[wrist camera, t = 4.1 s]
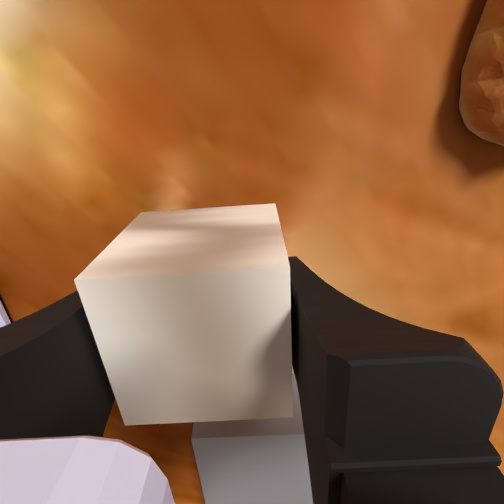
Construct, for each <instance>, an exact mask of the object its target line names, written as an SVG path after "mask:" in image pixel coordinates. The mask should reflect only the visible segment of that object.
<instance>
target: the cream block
mask: <svg viewBox="0 0 504 504" xmlns="http://www.w3.org/2000/svg"><path fill="white" fill-rule="evenodd" d="M74 281H75V284H76V287H77V290H78V293H79V295H80V298H81V301H82V304H83V307H84V310H85V313H86V315H87V318H88V321H89V324H90V327H91V330H92V333H93V336H94V338H95V341H96V344H97V347H98V350H99V353H100V356H101V358H102V361H103V364H104V367H105V370H106V373H107V376H108V378H109V381H110V384H111V387H112V390H113V393H114V396H115V398H116V401H117V404H118V407H119V410H120V413H121V416H122V419H123V421H124V424H125V425H146V424H166V423H187V422H208V421H228V420H249V419H269V418H290V417H293V387H292V338H291V290H290V264H289V260H288V256H287V252H286V247H285V243H284V239H283V235H282V230H281V226H280V222H279V217H278V213H277V209H276V205H275V203H274V204H259V205H244V206H229V207H214V208H200V209H185V210H170V211H155V212H141V213H140V214H139V215H138V216H137V217H136V218H135V219H134V220H133V221H132V222H131V223H130V224H129V225H128V226H127V227H126V228H125V229H124V230H123V231H122V232H121V233H120V234H119V235H118V236H117V237H116V238H115V239H114V240H113V241H112V242H111V243H110V244H109V245H108V246H107V247H106V248H105V249H104V250H103V251H102V252H101V253H100V254H99V255H98V256H97V257H96V258H95V259H94V260H93V261H92V262H91V263H90V264H89V265H88V266H87V267H86V268H85V269H84V270H83V271H82V272H81V273H80V274H79V276H78V277H77V278H76V279H75V280H74Z"/></svg>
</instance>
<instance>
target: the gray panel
mask: <svg viewBox="0 0 504 504" xmlns="http://www.w3.org/2000/svg"><path fill="white" fill-rule="evenodd" d="M292 387H293V417H290V418H269V419H249V420H228V421H208V422H194V425H193V430H192V436H191V441H192V446H193V450H194V455H195V459H196V463H197V468H198V472H199V477H200V481H201V486H202V490H203V495H204V499H205V503H206V504H313V498H312V490H311V482H310V474H309V466H308V458H307V451H306V443H305V436H304V428H303V421H302V414H301V407H300V399H299V393H298V388H297V382H296V378H295V374H292Z"/></svg>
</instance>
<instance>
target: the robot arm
mask: <svg viewBox="0 0 504 504" xmlns="http://www.w3.org/2000/svg"><path fill="white" fill-rule="evenodd" d="M288 260H289V264H290V290H291V338H292V366H293V370H294V374H295V378H296V382H297V388H298V393H299V399H300V407H301V414H302V421H303V428H304V436H305V443H306V451H307V458H308V466H309V474H310V482H311V490H312V498H313V504H504V476H503V474H502V473H501V471H500V470H499V468H498V467H497V466H500V464H501V462H502V461H501V457H500V455H499V453H498V452H497V451H496V449H495V448H494V446H493V445H492V444H491V442H490V441H489V437H490V434H491V432H492V429H493V426H494V424H495V421H496V418H497V415H498V413H499V410H500V407H501V403H502V398H503V388H502V384H501V380H500V379H499V377H498V376H497V375H496V373H495V372H494V371H493V369H492V368H491V367H490V366H489V365H488V364H487V363H486V362H485V360H484V359H483V358H482V357H481V356H480V355H479V354H478V353H477V352H476V350H475V349H474V348H473V347H472V346H471V345H470V344H469V343H468V342H467V341H466V340H465V339H464V338H461V337H457V336H453V335H449V334H445V333H440V332H436V331H432V330H428V329H424V328H421V327H418V326H415V325H412V324H409V323H405V322H402V321H399V320H397V319H394V318H391V317H389V316H386V315H384V314H381V313H379V312H377V311H374V310H372V309H370V308H368V307H366V306H364V305H362V304H360V303H358V302H356V301H354V300H352V299H351V298H349V297H347V296H345V295H344V294H342V293H340V292H339V291H337V290H336V289H335V288H333V287H332V286H330V285H329V284H327V283H326V282H325V281H323V280H322V279H321V278H320V277H318V276H317V275H316V274H315V273H314V272H313V271H311V270H310V269H309V268H308V267H307V266H306V265H305V264H304V263H303V262H302V261H301V260H300V259H298V258H297V257H288ZM114 400H115V396H114V393H113V390H112V387H111V384H110V381H109V378H108V376H107V373H106V370H105V367H104V364H103V361H102V358H101V356H100V353H99V350H98V347H97V344H96V341H95V338H94V336H93V333H92V330H91V327H90V324H89V321H88V318H87V315H86V313H85V310H84V307H83V304H82V301H81V298H80V295H79V293H78V291H76V292H74V293H72V294H70V295H68V296H66V297H65V298H63V299H61V300H59V301H57V302H55V303H53V304H51V305H49V306H48V307H46V308H43V309H41V310H39V311H37V312H35V313H33V314H31V315H29V316H26V317H24V318H22V319H19V320H17V321H15V322H12V323H11V322H10V320H9V318H8V316H7V314H6V312H5V310H4V307H3V305H2V303H1V301H0V504H175V502H174V499H173V496H172V493H171V489H170V486H169V483H168V479H167V478H166V477H165V475H164V474H163V472H162V471H161V470H160V468H159V467H158V466H157V464H156V463H155V462H154V460H153V459H152V458H151V457H150V455H149V454H148V453H146V452H144V451H142V450H140V449H138V448H136V447H134V446H132V445H130V444H128V443H126V442H124V441H122V440H119V439H111V438H103V437H102V436H103V433H104V429H105V426H106V423H107V420H108V417H109V414H110V411H111V409H112V406H113V403H114Z"/></svg>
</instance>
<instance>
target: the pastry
mask: <svg viewBox="0 0 504 504" xmlns="http://www.w3.org/2000/svg"><path fill="white" fill-rule="evenodd" d="M459 110H460V113H461V116H462V119H463V121H464V124H465V126H466V127H467V128H468V129H469V130H470V131H471V132H473V133H475V134H476V135H477V136H479V137H480V138H482V139H485V140H487V141H490V142H493V143H496V144H499V145H502V146H504V0H487V1H486V4H485V7H484V10H483V12H482V15H481V18H480V21H479V23H478V25H477V28H476V30H475V33H474V36H473V38H472V41H471V44H470V47H469V50H468V53H467V56H466V59H465V62H464V65H463V68H462V72H461V91H460V99H459Z"/></svg>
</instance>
